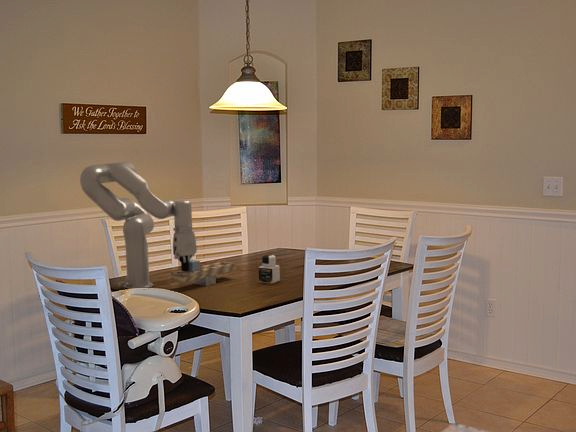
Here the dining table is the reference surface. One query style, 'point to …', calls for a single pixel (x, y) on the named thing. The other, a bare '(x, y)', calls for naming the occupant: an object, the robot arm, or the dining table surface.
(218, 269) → the beam
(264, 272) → the medicine bottle
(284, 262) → the dining table surface
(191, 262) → the block
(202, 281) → the fulcrum
